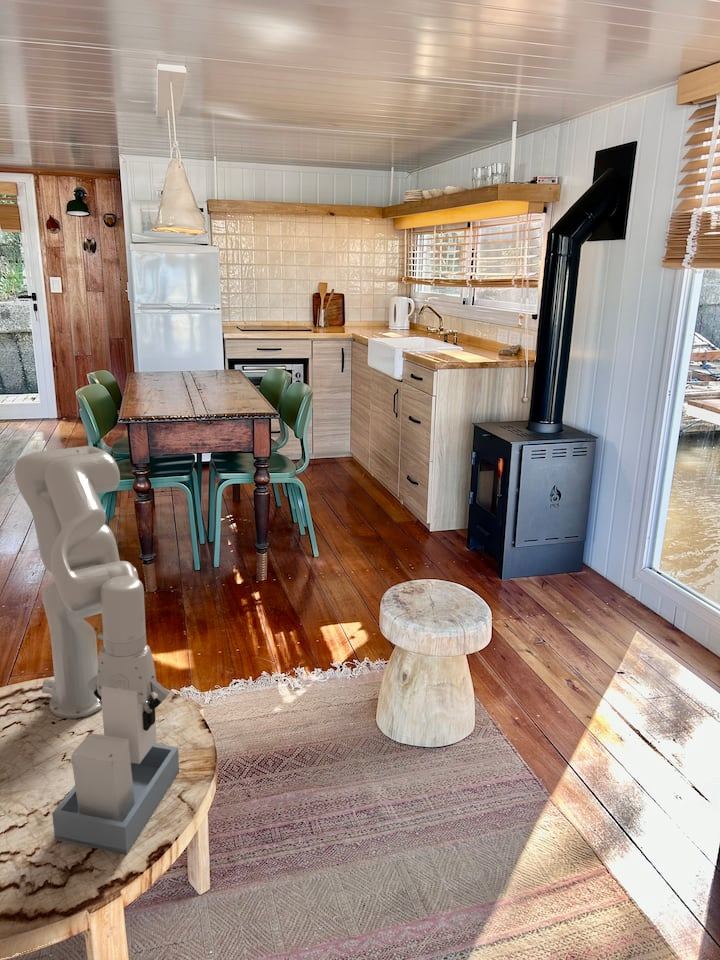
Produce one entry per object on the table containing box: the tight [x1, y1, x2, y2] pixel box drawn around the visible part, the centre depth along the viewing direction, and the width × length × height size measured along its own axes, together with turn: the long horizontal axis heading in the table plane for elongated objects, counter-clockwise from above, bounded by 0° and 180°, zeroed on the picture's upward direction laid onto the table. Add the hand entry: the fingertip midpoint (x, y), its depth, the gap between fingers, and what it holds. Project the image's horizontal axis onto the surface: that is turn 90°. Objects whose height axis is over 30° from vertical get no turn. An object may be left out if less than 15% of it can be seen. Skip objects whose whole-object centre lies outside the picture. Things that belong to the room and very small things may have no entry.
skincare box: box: [70, 732, 135, 822], centre depth 135 cm, size 8×7×16 cm
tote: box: [51, 743, 180, 855], centre depth 141 cm, size 14×22×6 cm, turn 169°
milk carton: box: [101, 667, 157, 764], centre depth 141 cm, size 7×7×19 cm
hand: (130, 722), depth 142 cm, fingers closed on milk carton, 7 cm apart
